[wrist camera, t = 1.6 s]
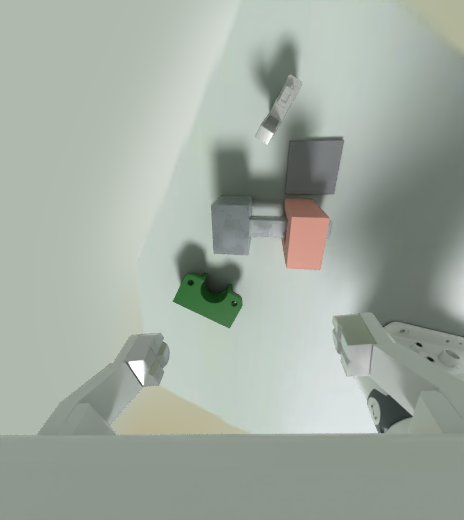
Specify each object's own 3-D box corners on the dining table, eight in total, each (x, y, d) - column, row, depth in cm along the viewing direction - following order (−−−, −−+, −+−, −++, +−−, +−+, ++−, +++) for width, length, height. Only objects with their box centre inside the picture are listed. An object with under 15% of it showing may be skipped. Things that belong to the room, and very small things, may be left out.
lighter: (286, 84, 28) (293, 61, 21) (298, 91, 28) (308, 71, 21) (257, 139, 31) (254, 136, 24) (267, 146, 32) (267, 144, 24)
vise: (325, 197, 33) (339, 207, 27) (318, 240, 36) (329, 259, 30) (221, 195, 35) (211, 204, 29) (222, 237, 39) (213, 253, 32)
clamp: (235, 279, 47) (253, 303, 39) (223, 302, 48) (237, 330, 40) (182, 261, 42) (190, 284, 34) (170, 288, 43) (175, 316, 35)
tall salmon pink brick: (311, 198, 34) (329, 217, 24) (305, 238, 37) (320, 270, 27) (284, 198, 34) (291, 217, 25) (281, 237, 37) (286, 268, 27)
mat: (343, 140, 30) (343, 140, 30) (333, 193, 33) (334, 194, 33) (289, 141, 31) (290, 141, 31) (285, 193, 34) (285, 193, 34)
